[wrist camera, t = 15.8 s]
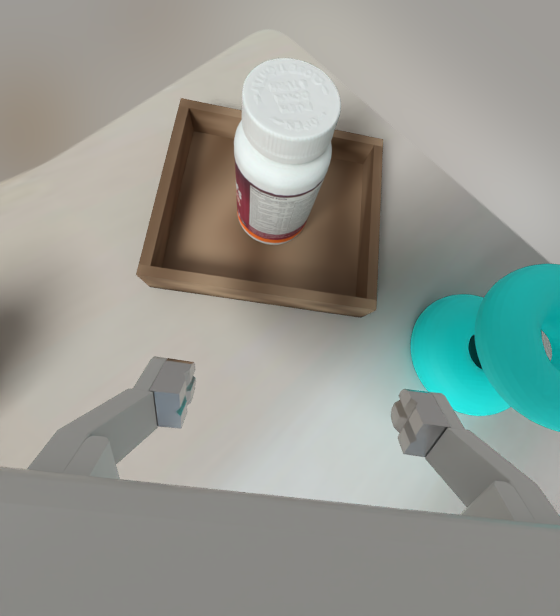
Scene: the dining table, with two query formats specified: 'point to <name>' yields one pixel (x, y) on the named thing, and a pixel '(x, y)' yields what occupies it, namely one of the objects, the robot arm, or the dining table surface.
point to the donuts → (495, 347)
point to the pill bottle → (283, 147)
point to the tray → (247, 251)
